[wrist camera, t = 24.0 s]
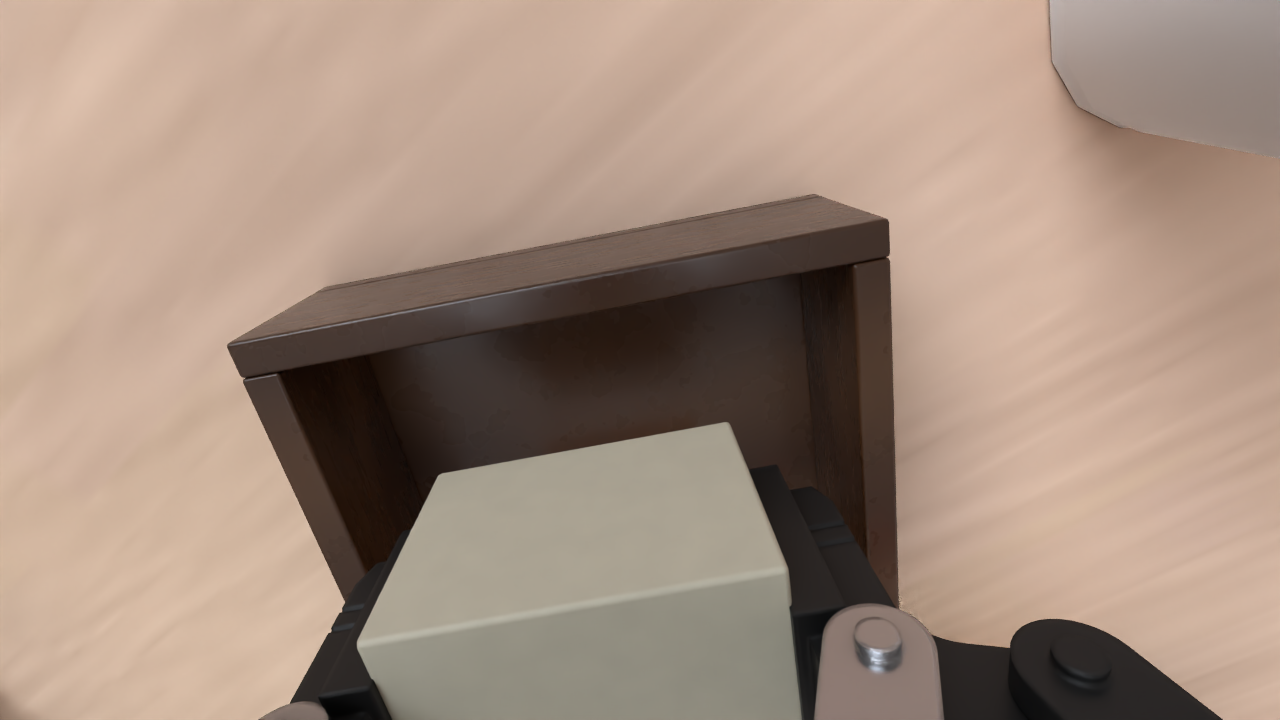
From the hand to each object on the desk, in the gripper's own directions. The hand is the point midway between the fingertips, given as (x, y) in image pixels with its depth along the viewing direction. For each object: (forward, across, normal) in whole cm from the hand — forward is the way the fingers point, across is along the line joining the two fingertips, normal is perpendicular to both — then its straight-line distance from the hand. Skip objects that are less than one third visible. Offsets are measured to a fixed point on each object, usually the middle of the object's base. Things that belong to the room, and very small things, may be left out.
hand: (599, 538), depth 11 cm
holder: (+7, 0, +2) cm, 8 cm away
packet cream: (0, 0, 0) cm, 0 cm away
